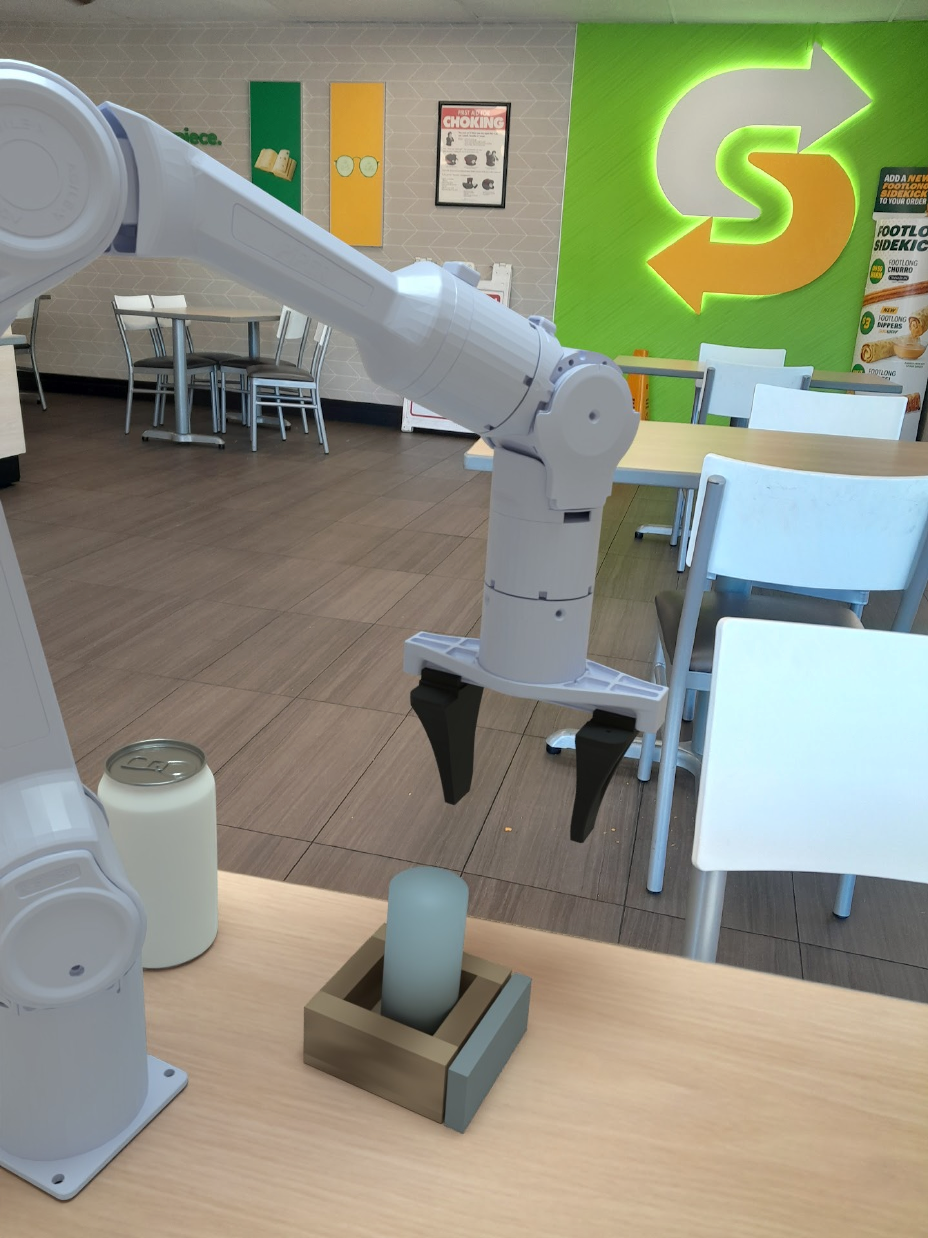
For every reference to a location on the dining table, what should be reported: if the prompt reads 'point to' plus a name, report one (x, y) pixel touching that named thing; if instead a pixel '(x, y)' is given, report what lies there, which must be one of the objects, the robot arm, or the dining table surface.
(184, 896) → the can
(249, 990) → the dining table surface
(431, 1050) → the frame
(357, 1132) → the dining table surface
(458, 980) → the dowel
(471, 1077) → the backstop wall
